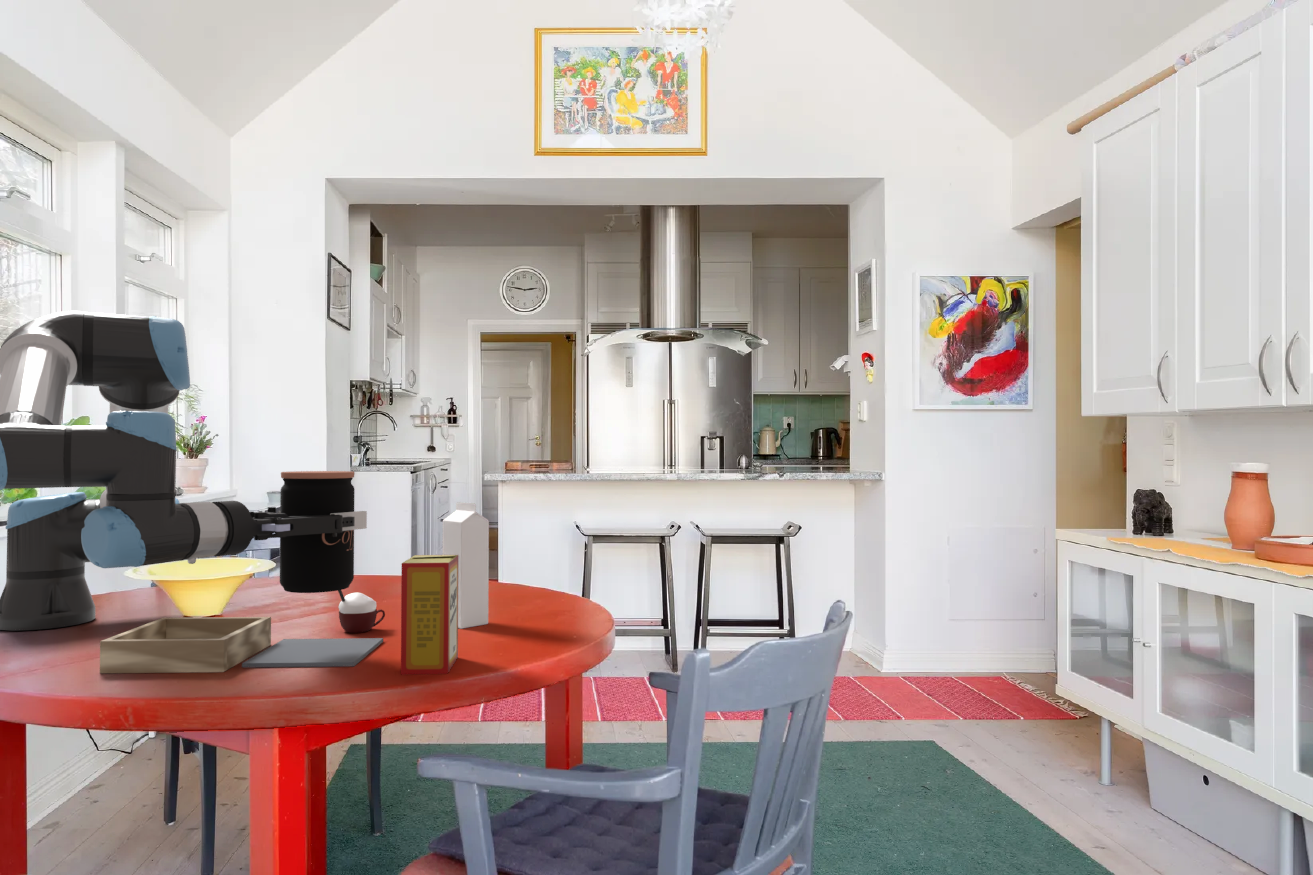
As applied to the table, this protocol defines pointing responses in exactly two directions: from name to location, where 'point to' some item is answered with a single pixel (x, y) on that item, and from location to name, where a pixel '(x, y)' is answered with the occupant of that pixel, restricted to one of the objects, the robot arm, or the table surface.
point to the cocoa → (358, 612)
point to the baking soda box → (429, 614)
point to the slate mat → (314, 652)
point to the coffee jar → (317, 556)
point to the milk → (469, 561)
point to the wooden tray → (185, 645)
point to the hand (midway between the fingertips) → (338, 518)
